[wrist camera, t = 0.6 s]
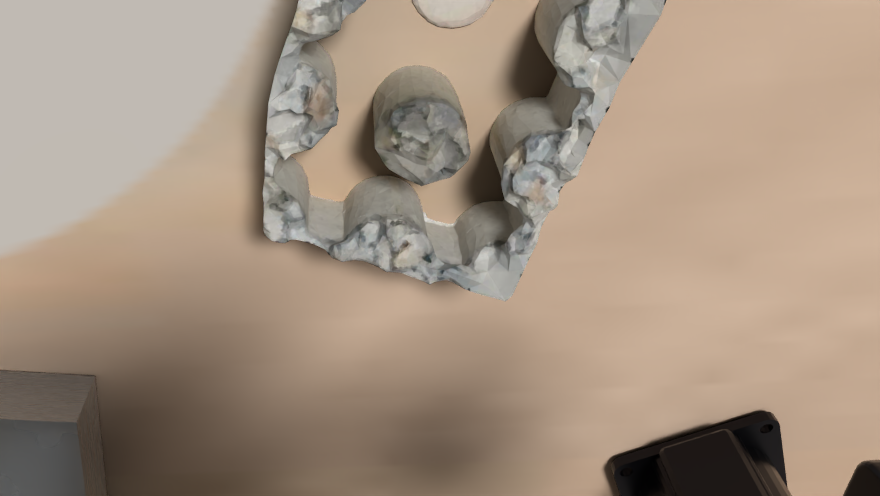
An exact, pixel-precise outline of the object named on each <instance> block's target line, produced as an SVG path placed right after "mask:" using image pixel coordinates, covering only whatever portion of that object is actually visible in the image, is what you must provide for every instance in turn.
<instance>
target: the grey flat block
mask: <svg viewBox="0 0 880 496" xmlns="http://www.w3.org/2000/svg"><path fill="white" fill-rule="evenodd" d="M0 496H107V488H106V478H105V468H104V458H103V448H102V438H101V428H100V418H99V408H98V398H97V388H96V378H95V376H89V375H71V374H54V373H36V372H18V371H0Z"/></svg>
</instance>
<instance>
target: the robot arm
mask: <svg viewBox="0 0 880 496" xmlns="http://www.w3.org/2000/svg"><path fill="white" fill-rule="evenodd" d="M611 469H612V472H613V475H614V478H615V481H616V484H617V487H618V490H619V493H620V495H621V496H792V495H791V493H790V492H789V490H788V488H787V481H786V473H785V465H784V456H783V448H782V440H781V432H780V425H779V422H778V421H777V419H776V418H775V416H774V414H772V413H771V412H761V413H757V414H754V415H751V416H748V417H745V418H741V419H738V420H735V421H732V422H729V423H725V424H722V425H719V426H716V427H713V428H709V429H706V430H703V431H700V432H697V433H694V434H690V435H687V436H684V437H681V438H678V439H674V440H671V441H668V442H665V443H662V444H658V445H655V446H652V447H649V448H646V449H642V450H639V451H636V452H633V453H630V454H626V455H623V456H620V457H618V458H616V459H615V460H614V461H613V462H612V463H611ZM843 496H880V460H869V461H863V462H861V463H860V464H859V465H858V466H857V467H856V469H855V471H854V473H853V475H852V478H851V480H850V482H849V484H848V486H847V488H846V490H845V492H844V494H843Z"/></svg>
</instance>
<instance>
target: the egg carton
mask: <svg viewBox="0 0 880 496" xmlns="http://www.w3.org/2000/svg"><path fill="white" fill-rule="evenodd" d="M365 1H366V0H299V1H298V5H297V10H296V14H295V17H294V20H293V23H292V26H291V29H290V31H289V34H288V37H287V39H286V42H285V45H284V48H283V51H282V54H281V57H280V60H279V63H278V66H277V69H276V72H275V76H274V80H273V85H272V89H271V94H270V98H269V103H268V117H267V130H266V144H265V179H264V185H263V203H264V218H263V220H264V227H263V230H264V233H265V235H266V236H267V237H268V238H269V239H270V240H271V241H275V242H279V243H286V242H288V241H289V240H294V239H296V240H300V241H304V242H307V243H311V244H314V245H316V246H319V247H321V248H323V249H325V250H326V251H327V252H328V254H329V255H330V256H331V257H332V258H334V259H337V260H339V261H342V262H343V261H350V260H359V261H365V262H368V263H370V264H373V265H375V266H377V267H379V268H381V269H383V270H384V271H386V272H397V273H403V274H405V275H408V276H411V277H413V278H416V279H419V280H422V281H424V282H426V283H428V284H432V283H434V282H437V281H443V280H447V281H450V282H453V283H455V284H457V285H459V286H461V287H462V288H464V289H466V290H469V291H472V292H474V293H477V294H481V295H484V296H488V297H492V298H495V299H499V300H503V301H507V300H508V299H509V298H510V297H511V296H512V295H513V293H514V290H515V288H516V286H517V284H518V282H519V279H520V277H521V275H522V273H523V271H524V269H525V266H526V264H527V262H528V260H529V258H530V256H531V254H532V252H533V250H534V248H535V246H536V244H537V241H538V237H539V233H540V229H541V226H542V224H543V222H544V220H545V218H546V216H547V215H548V213H549V211H551V210H553V209H555V208H556V206H557V204H558V198H559V191H560V190H561V188H562V187H563V186H564V184H565V183H566V182H568V181H570V180H572V179H573V178H575V177H576V176H577V174H578V172H579V169H580V167H581V165H582V162H583V160H584V157H585V154H586V152H587V149H588V146H589V144H590V142H591V140H592V137H593V135H594V133H595V131H596V129H597V128H598V126H599V124H600V123H601V121H602V119H603V117H604V116H605V114H606V112H607V111H608V109H609V107H610V105H611V102H612V100H613V97H614V95H615V92H616V90H617V87H618V85H619V82H620V81H621V79H622V77H623V76H624V74H625V73H626V71H627V69H628V68H629V66H630V64H631V63H632V61H633V60H634V58H635V56H636V55H637V53H638V51H639V50H640V48H641V46H642V45H643V43H644V42H645V40H646V38H647V37H648V35H649V33H650V32H651V30H652V29H653V27H654V25H655V24H656V22H657V20H658V19H659V17H660V15H661V13H662V10H663V8H664V5H665V2H666V0H540V1H539V3H538V6H537V10H536V13H535V28H534V30H535V33H536V37H537V40H538V42H539V44H540V45H541V47H542V49H543V50H544V52H545V53H546V55H547V57H548V58H549V60H550V61H551V63H552V64H553V66H554V67H555V69H556V70H557V72H558V73H557V75H556V77H555V79H554V82H553V84H552V87H551V89H550V91H549V93H548V95H547V96H546V97H531V98H526V99H522V100H519V101H516V102H514V103H512V104H511V105H509V106H507V107H506V108H505V109H504V110H503V111H501V113H500V114H499V115H498V116H497V119H496V120H495V122H494V124H493V126H492V129H491V132H490V138H489V140H490V148H491V151H492V153H493V156H494V159H495V162H496V165H497V168H498V170H499V173H500V176H501V186H502V192H503V195H504V200H503V201H488V202H482V203H479V204H476V205H473V206H472V207H470V208H469V209H468V210H466V211H465V212H464V213H463V214H462V215H460V216H459V218H458V219H457V220H456V221H455V223H453V224H446V223H442V222H438V221H434V220H431V219H428V218H427V215H426V213H424V212H423V210H422V206H421V202H420V199H419V197H418V195H417V193H416V192H415V191H414V189H413V188H412V187H411V186H410V184H408V183H407V182H405V181H403V180H402V179H399V178H397V177H393V176H375V177H372V178H368V179H366V180H363V181H362V182H360V183H359V184H357V185H356V186H355V187H354V188H353V189H352V190H351V191H350V193H349V194H348V196H347V198H346V199H345V201H343V202H337V201H333V200H329V199H323V198H319V197H315V196H312V195H311V194H310V191H309V184H308V179H307V176H306V173H305V171H304V169H303V167H302V166H301V165H300V164H299V163H298V162H297V161H296V160H295V159H294V158H292V157H291V156H290V155H291V154H293V153H297V152H301V151H305V150H308V149H312V148H313V147H314V146H315V144H316V143H317V142H318V141H319V140H320V139H321V138H322V137H324V136H325V135H326V134H327V133H328V131H329V130H330V129H331V128H332V127H334V126H336V125H337V119H338V112H339V110H338V107H337V103H336V94H337V88H336V74H335V67H334V64H333V61H332V59H331V56H330V55H329V53H328V52H327V51H326V50H325V49H324V48H323V47H322V46H321V45H320V44H319V43H318V42H317V40H319V39H322V38H325V37H328V36H331V35H334V34H335V33H336V32H338V31H339V30H340V28H341V23H342V21H343V20H344V19H345V17H346V16H347V15H348V14H351V13H353V12H355V11H356V10H357V9H358V8H359V7H360V6H361V5H362V4H363V3H364V2H365ZM493 1H494V0H412V2H413V4H414V5H415V7H416V9H417V10H418V12H419V13H420V14H421V15H422V16H423V17H424V18H425V19H426V20H427V21H429V22H431V23H433V24H435V25H437V26H439V27H447V28H457V27H462V26H466V25H470V24H471V23H473V22H475V21H476V20H478V19H479V18H481V17H482V16H483V15H484V13H485V12H486V11H487V9H488V8H489V7H490V5H491V4H492V2H493ZM373 116H374V133H375V149H376V150H377V152H378V154H379V156H380V158H381V160H382V161H383V163H384V164H385V165H386V166H387V168H388V169H389V170H391V171H393V172H394V173H396V174H398V175H400V176H402V177H403V178H405V179H407V180H409V181H412V182H414V183H416V184H418V185H420V186H423V185H426V184H429V183H432V182H435V181H438V180H442V179H446V178H450V177H451V176H453V175H454V174H455V173H456V172H457V171H458V170H459V169H460V168H461V167H462V166H463V165H464V164H465V163H466V162H467V161H468V159H469V156H470V146H469V140H468V134H467V125H466V121H465V118H464V114H463V110H462V108H461V105H460V102H459V99H458V96H457V94H456V92H455V90H454V88H453V86H452V84H451V83H450V81H449V80H448V79H447V77H446V76H445V75H443V74H442V73H440V72H438V71H437V70H435V69H433V68H431V67H425V66H420V65H419V66H405V67H402V68H400V69H398V70H396V71H394V72H393V73H391V74H390V75H389V76H388V77H386V78H385V79H384V81H383V82H382V83H381V84H380V85H379V86H378V88H377V91H376V93H375V97H374V99H373Z"/></svg>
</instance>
